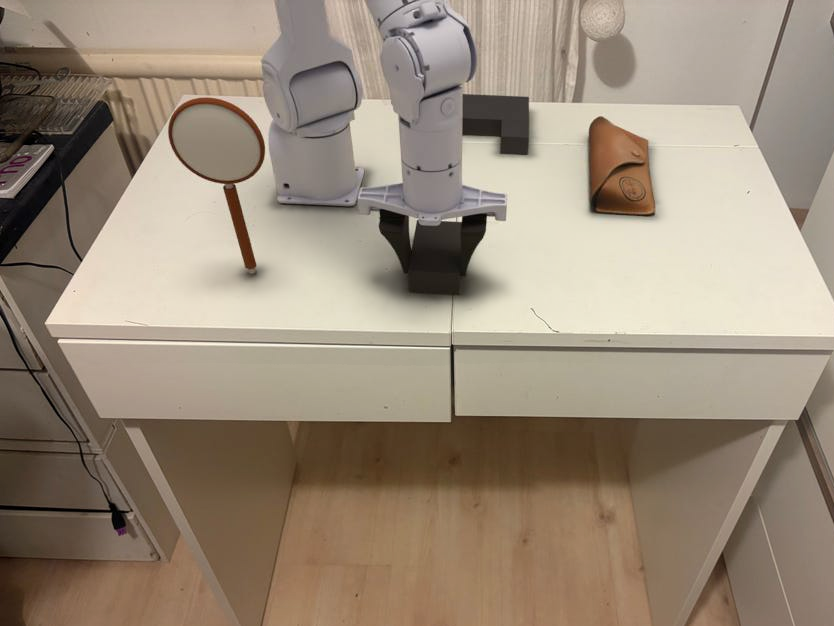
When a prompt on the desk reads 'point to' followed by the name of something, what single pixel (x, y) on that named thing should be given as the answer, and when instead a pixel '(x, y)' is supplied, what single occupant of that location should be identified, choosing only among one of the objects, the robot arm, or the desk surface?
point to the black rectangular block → (436, 259)
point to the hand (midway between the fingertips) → (435, 269)
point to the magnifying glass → (220, 153)
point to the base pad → (498, 120)
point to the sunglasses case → (619, 170)
